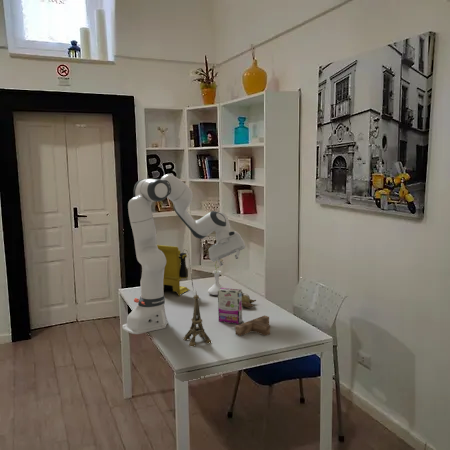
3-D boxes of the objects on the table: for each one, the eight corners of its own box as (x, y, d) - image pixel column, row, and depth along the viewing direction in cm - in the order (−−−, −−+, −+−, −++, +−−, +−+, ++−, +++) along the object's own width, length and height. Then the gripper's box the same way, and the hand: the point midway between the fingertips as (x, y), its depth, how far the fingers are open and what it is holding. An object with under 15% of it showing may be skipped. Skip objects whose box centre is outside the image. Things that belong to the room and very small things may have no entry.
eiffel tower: (190, 347, 197) (188, 291, 193) (182, 338, 206) (180, 285, 203) (212, 342, 201) (211, 288, 197) (204, 334, 210) (202, 282, 207)
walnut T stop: (252, 340, 202) (252, 332, 201) (235, 334, 210) (235, 326, 209) (281, 329, 215) (281, 321, 215) (264, 323, 223) (264, 315, 223)
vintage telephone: (202, 292, 277) (201, 243, 273) (190, 298, 265) (189, 248, 261) (160, 286, 292) (158, 240, 287) (147, 292, 280) (145, 244, 275)
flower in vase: (226, 296, 267) (225, 255, 264) (207, 296, 268) (206, 255, 264) (226, 290, 280) (226, 250, 277) (208, 290, 280) (207, 250, 277)
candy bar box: (242, 321, 227) (242, 289, 224) (239, 324, 222) (238, 292, 220) (221, 318, 231) (221, 287, 229) (218, 321, 226) (217, 289, 224)
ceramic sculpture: (230, 287, 255) (256, 289, 252) (229, 302, 256) (256, 304, 254) (227, 293, 245) (254, 295, 242) (226, 308, 246) (253, 311, 244)
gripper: (205, 244, 243) (209, 266, 235) (238, 229, 237) (243, 251, 229) (211, 249, 248) (214, 271, 240) (243, 234, 242) (249, 256, 234)
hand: (229, 261), depth 234 cm, fingers open, 8 cm apart
